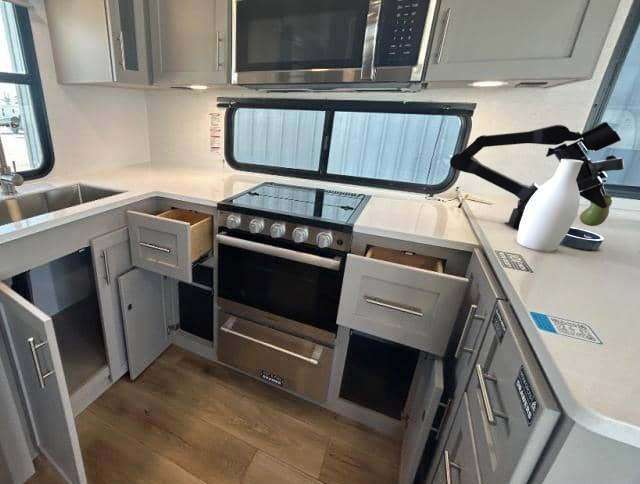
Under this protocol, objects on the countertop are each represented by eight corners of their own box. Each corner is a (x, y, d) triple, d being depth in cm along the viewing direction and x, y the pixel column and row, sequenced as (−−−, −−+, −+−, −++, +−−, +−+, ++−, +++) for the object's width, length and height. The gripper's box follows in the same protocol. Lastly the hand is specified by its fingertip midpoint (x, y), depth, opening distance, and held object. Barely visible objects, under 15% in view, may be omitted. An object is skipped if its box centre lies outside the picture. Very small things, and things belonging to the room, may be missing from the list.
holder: (565, 248, 98) (571, 237, 96) (540, 234, 108) (545, 224, 106) (608, 253, 96) (614, 242, 95) (579, 238, 106) (584, 228, 105)
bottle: (508, 235, 106) (540, 155, 96) (553, 243, 101) (591, 160, 91) (516, 247, 96) (552, 160, 86) (565, 257, 92) (609, 166, 82)
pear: (590, 228, 98) (608, 196, 94) (571, 221, 103) (587, 191, 98) (605, 228, 99) (623, 197, 95) (586, 221, 104) (603, 191, 99)
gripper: (607, 147, 88) (644, 198, 85) (613, 143, 99) (646, 188, 96) (556, 169, 97) (587, 216, 94) (566, 164, 108) (595, 205, 105)
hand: (605, 206), depth 97 cm, fingers closed on pear, 4 cm apart
